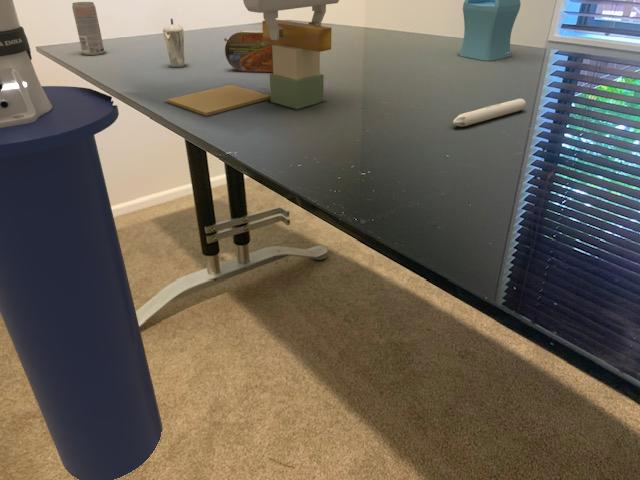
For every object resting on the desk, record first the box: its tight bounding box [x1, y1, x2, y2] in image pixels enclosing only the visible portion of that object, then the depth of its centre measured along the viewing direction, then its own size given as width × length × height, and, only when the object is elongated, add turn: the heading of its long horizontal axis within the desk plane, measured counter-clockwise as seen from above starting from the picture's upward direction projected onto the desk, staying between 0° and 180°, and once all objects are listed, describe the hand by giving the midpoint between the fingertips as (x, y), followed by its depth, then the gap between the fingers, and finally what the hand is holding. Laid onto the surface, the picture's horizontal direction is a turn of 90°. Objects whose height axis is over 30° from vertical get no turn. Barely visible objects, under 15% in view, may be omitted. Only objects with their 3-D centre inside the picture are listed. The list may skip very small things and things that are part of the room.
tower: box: [269, 44, 325, 110], centre depth 92 cm, size 7×7×10 cm
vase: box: [459, 0, 522, 62], centre depth 125 cm, size 10×10×25 cm
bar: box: [262, 18, 333, 53], centre depth 88 cm, size 3×14×4 cm, turn 47°
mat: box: [166, 84, 271, 117], centre depth 94 cm, size 15×12×1 cm
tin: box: [224, 31, 278, 73], centre depth 113 cm, size 15×3×8 cm, turn 82°
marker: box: [452, 98, 527, 128], centre depth 85 cm, size 18×2×2 cm, turn 126°
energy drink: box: [71, 1, 105, 56], centre depth 128 cm, size 5×5×12 cm
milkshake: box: [162, 18, 186, 68], centre depth 117 cm, size 5×5×10 cm
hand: (296, 36), depth 88 cm, fingers open, 8 cm apart
